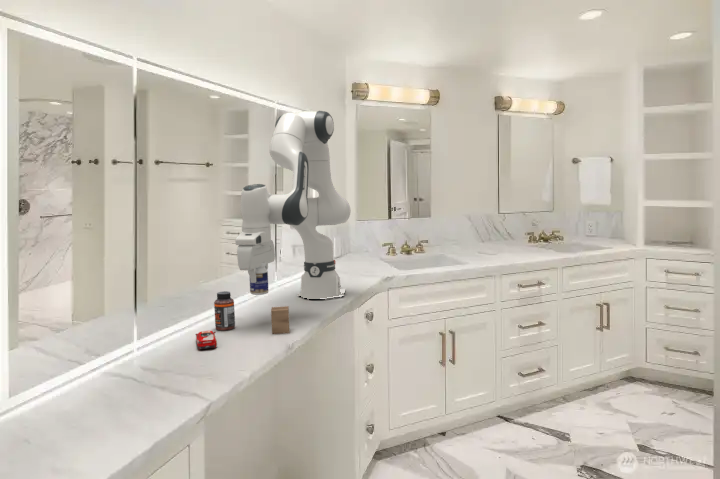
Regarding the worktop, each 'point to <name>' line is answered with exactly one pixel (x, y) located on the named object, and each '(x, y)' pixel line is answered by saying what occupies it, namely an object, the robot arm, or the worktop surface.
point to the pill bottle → (260, 281)
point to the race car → (206, 340)
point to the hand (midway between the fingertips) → (258, 280)
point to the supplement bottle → (224, 311)
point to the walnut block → (280, 320)
